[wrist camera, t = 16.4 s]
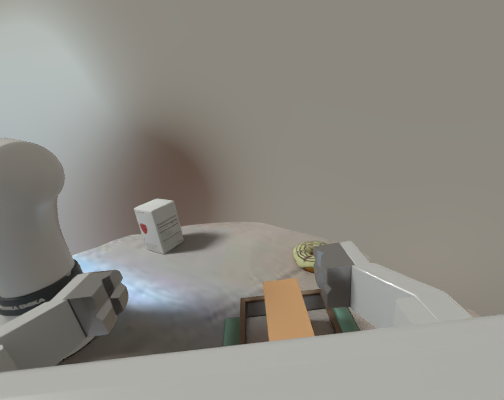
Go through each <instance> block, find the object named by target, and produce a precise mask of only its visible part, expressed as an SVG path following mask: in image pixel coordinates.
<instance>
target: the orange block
mask: <svg viewBox="0 0 504 400" xmlns="http://www.w3.org/2000/svg"><path fill="white" fill-rule="evenodd" d="M263 288H264V298H265V307H266V317H267V326H268V335H269V341H277V340H286V339H294V338H303V337H312V336H315V335H314V332H313V329H312V325H311V322H310V319H309V316H308V313H307V309H306V306H305V303H304V300H303V297H302V293H301V290H300V287H299V284H298V281H297V278H293V279H284V280H276V281H268V282H263Z"/></svg>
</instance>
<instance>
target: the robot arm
mask: <svg viewBox="0 0 504 400" xmlns="http://www.w3.org/2000/svg"><path fill="white" fill-rule="evenodd" d="M64 179H65V175H64V170H63V167H62V165H61V163H60V162H59V160H58V159H57V157H56V156H55V155H54V154H53V153H51V152H50V151H48V150H47V149H46V148H44V147H42V146H39V145H37V144H34V143H30V142H26V141H21V140H15V139H8V138H0V400H504V314H502V315H494V316H485V317H476V318H473V317H472V316H471V315H470V314H469V313H468V312H467V311H465V310H464V309H463V308H462V307H461V306H460V305H459V304H458V303H457V302H455V301H454V300H453V299H452V298H451V297H450V296H449V295H447V294H446V293H445V292H443V291H441V290H438V289H436V288H433V287H431V286H429V285H426V284H424V283H421V282H419V281H416V280H414V279H412V278H409V277H407V276H405V275H402V274H400V273H397V272H395V271H392V270H390V269H387V268H385V267H383V266H380V265H378V264H376V263H370V262H369V261H368V260H367V259H366V258H365V256H364V255H363V254H362V253H361V252H360V251H359V249H358V248H357V247H356V246H355V245H354V244H353V242H351V241H345V242H339V243H333V244H326V245H319V246H313V256H314V258H315V260H316V261H315V263H314V274H315V279H316V283H317V285H318V287H319V288H320V289H322V297H323V299H324V302H325V304H326V306H327V309H330V308H341V307H350V308H351V309H353V310H354V311H355V312H357V313H358V314H359V315H360V316H362V317H363V318H364V319H366V320H367V321H368V322H369V323H371V324H372V325H373V326H375V327H376V328H377V329H372V330H364V331H355V332H346V333H338V334H329V335H320V336H312V337H303V338H294V339H286V340H277V341H268V342H260V343H251V344H242V345H233V346H225V347H216V348H207V349H199V350H190V351H181V352H172V353H163V354H154V355H146V356H137V357H128V358H120V359H111V360H102V361H94V362H85V363H76V364H68V365H59V366H56V365H57V364H58V363H59V362H60V361H61V360H63V359H64V358H66V357H68V356H70V355H72V354H73V353H75V352H76V351H78V350H79V349H81V348H82V347H84V346H85V345H86V344H87V343H88V342H90V341H91V340H92V339H93V338H94V337H95V336H100V335H107V334H109V333H110V331H111V330H112V328H113V327H114V325H115V323H116V322H117V320H118V318H117V315H118V314H119V313H121V312H122V311H123V310H124V309H125V307H126V305H127V302H128V291H127V288H126V286H124V285H123V284H122V283H121V281H122V279H123V277H122V275H121V273H120V271H118V270H109V271H99V272H89V273H83V272H82V270H81V267H80V265H79V264H78V262H77V261H76V260H74V259H73V257H72V255H71V253H70V251H69V248H68V246H67V244H66V242H65V239H64V237H63V235H62V232H61V229H60V225H59V220H58V212H57V197H58V195H59V193H60V192H61V190H62V188H63V185H64Z"/></svg>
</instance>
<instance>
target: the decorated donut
mask: <svg viewBox="0 0 504 400" xmlns="http://www.w3.org/2000/svg"><path fill="white" fill-rule="evenodd" d="M319 245H326V243H323V242H319V241H310V242H303V243H300V244H299V245H297V246H296V247H295V249H294V250H293V257H294V259H295V261H296V262H297V264H298V266H299V267H300V268H303V269H304V270H306V271H309V272H313V273H314V263H315V261H316V260H315V258H314V256H313V246H319Z"/></svg>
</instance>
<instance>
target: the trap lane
mask: <svg viewBox="0 0 504 400" xmlns="http://www.w3.org/2000/svg"><path fill="white" fill-rule="evenodd" d="M301 293H302V297H303V300H304V303H305V306H306V309H307V310H316V309H324V308H326V310H327V313H328V315H329V318H330V320H331V323H332V325H333V327H334V330H335V332H336V334H338V333H346V332H355V331H359V329H358V327H357V325H356V323H355V321H354V320H353V318H352V316H351V314H350V312H349V310H348V308H347V307H341V308H330V309H327V306H326V304H325V302H324V299H323V297H322V289H316V290H308V291H301ZM264 315H266V307H265V298H264V296H256V297H248V298H241V303H240V317H236V318H228V319H226V320H225V331H224V341H223V347H225V346H233V345H242V344H246V317H255V316H264Z"/></svg>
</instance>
